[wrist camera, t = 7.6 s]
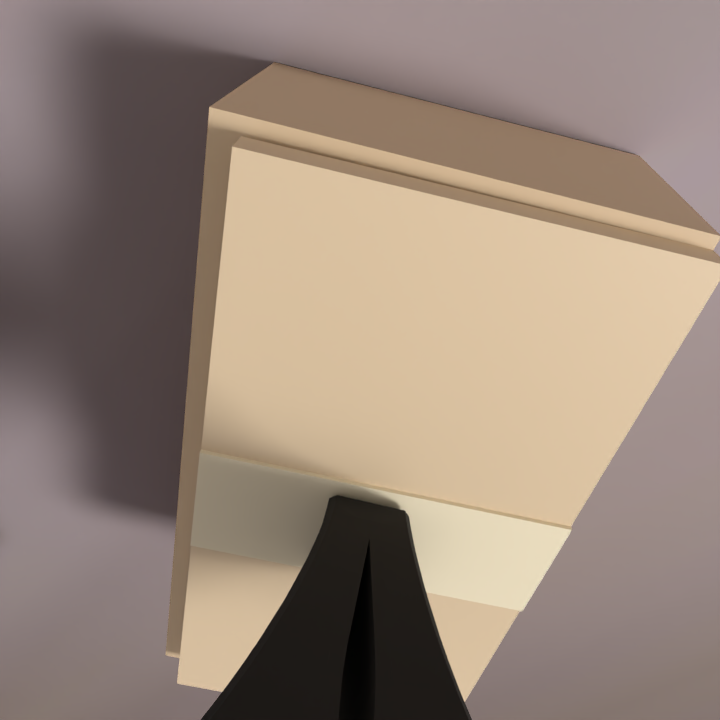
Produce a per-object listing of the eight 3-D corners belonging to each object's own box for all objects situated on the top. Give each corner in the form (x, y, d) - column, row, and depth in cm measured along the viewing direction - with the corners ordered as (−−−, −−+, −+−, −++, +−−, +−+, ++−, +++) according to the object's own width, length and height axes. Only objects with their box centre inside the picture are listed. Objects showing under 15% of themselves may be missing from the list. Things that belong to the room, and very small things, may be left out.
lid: (444, 711, 15) (445, 736, 15) (183, 663, 15) (176, 687, 15) (713, 250, 8) (731, 268, 8) (241, 136, 8) (230, 148, 8)
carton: (441, 580, 19) (442, 715, 16) (213, 529, 19) (165, 655, 15) (638, 155, 12) (721, 236, 8) (274, 62, 11) (209, 106, 8)
